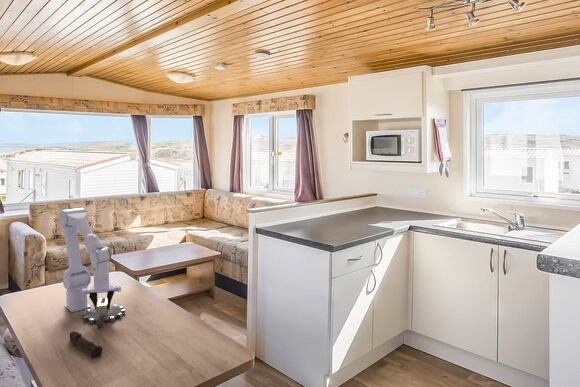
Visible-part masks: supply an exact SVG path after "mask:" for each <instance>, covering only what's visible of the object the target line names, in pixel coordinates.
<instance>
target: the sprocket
mask: <svg viewBox="0 0 580 387" xmlns="http://www.w3.org/2000/svg"><path fill="white" fill-rule="evenodd" d="M125 313H126V308H124V306H123V305H121V306H119V305H118V304H113V305H111V304H110V310H109V313H108V316H107V318H106V319H97V320H96V311H95V307H94V306H93V308H91V309H89V308H87V310H86V309H85V312H83V313H82V320H83V322H88V323H89V324H94V323H97V321H98V320H103V322H104V323H105V322H114V321H115V319H117V318H118V319H121V318H122V317H123V315H124V314H125Z"/></svg>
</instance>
